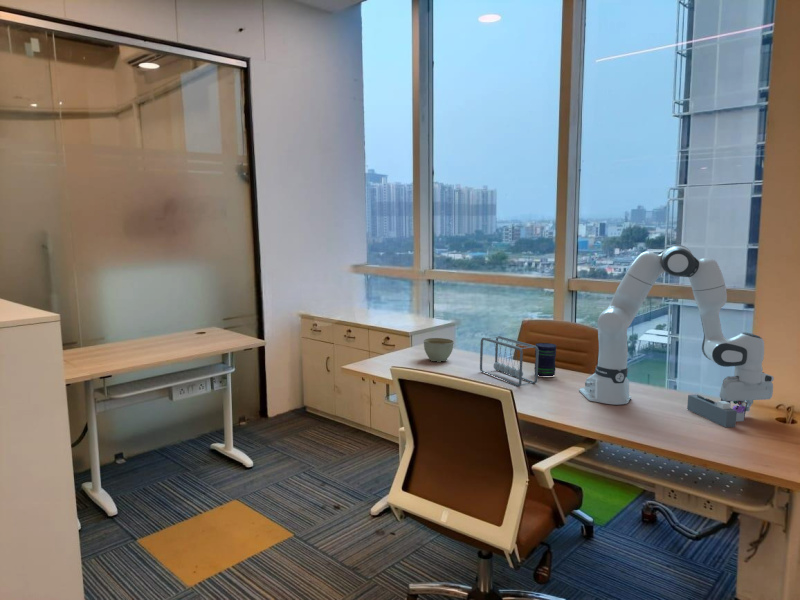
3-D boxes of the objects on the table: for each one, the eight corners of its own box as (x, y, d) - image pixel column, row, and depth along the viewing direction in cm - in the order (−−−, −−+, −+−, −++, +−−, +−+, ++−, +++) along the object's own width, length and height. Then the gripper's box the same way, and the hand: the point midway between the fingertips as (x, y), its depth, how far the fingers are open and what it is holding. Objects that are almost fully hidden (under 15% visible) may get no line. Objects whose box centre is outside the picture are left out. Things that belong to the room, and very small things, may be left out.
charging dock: (687, 409, 216) (688, 389, 215) (713, 408, 218) (715, 388, 217) (725, 427, 196) (727, 405, 195) (754, 425, 198) (756, 404, 197)
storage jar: (558, 377, 261) (560, 346, 259) (538, 378, 260) (540, 347, 258) (550, 372, 271) (551, 342, 269) (531, 372, 269) (532, 343, 268)
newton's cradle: (537, 384, 248) (539, 346, 246) (519, 387, 243) (521, 348, 241) (496, 369, 275) (497, 335, 272) (479, 372, 270) (480, 336, 267)
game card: (720, 396, 211) (746, 402, 204) (726, 398, 215) (751, 404, 208) (716, 413, 211) (742, 419, 204) (722, 415, 214) (747, 421, 207)
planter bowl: (444, 365, 282) (444, 345, 280) (417, 361, 290) (417, 341, 289) (458, 359, 295) (459, 340, 294) (432, 355, 304) (433, 336, 302)
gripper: (730, 378, 202) (726, 414, 204) (777, 377, 206) (773, 412, 207) (717, 374, 208) (714, 409, 210) (763, 372, 212) (760, 407, 214)
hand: (744, 411), depth 209 cm, fingers closed
